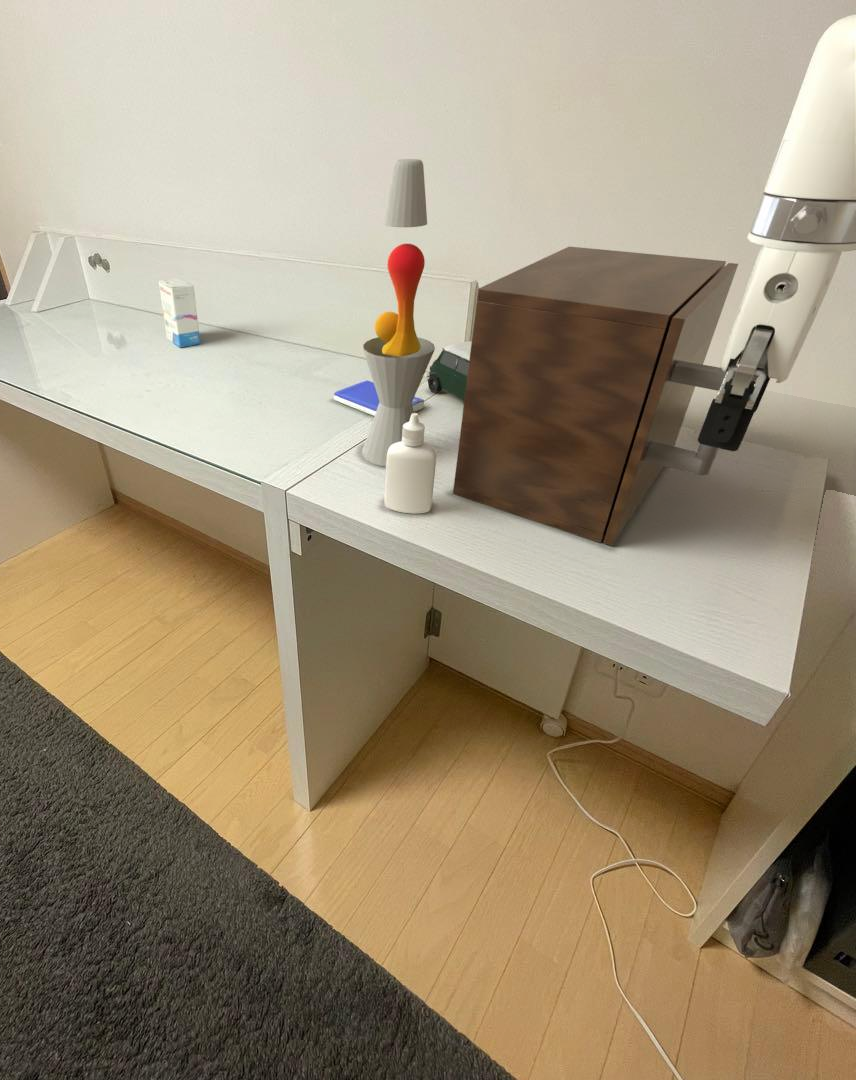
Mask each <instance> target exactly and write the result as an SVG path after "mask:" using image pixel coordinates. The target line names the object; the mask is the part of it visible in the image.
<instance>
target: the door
mask: <svg viewBox="0 0 856 1080" xmlns="http://www.w3.org/2000/svg"><path fill="white" fill-rule="evenodd" d="M738 267H739V263H733V262H728V263H726V264H725V267H724V268H723V269H722V270H721V271H720V272H719V273H718V274H717V275H716V276H715V277H714V278H713V279H712V280H711V281H710V282H709V283H708V284H707V285H706V286H704V287H703V288H702V289H701V290H700V291H699V292H698V293H697V294H696V295H695V296H694V297H693V298H692V299H691V300H690V301H689V302H688V303H687V304H686V305H685V306H684V307H683V308H682V309H681V310H680V311H679V312H678V313H677V314H676V315H675V316H674V317H673V318H672V321H671V324H670V327H669V331H668V334H667V337H666V340H665V344H664V347H663V350H662V353H661V357H660V360H659V363H658V366H657V370H656V373H655V376H654V379H653V383H652V386H651V389H650V392H649V396H648V399H647V402H646V405H645V409H644V412H643V415H642V418H641V422H640V425H639V428H638V431H637V435H636V438H635V441H634V444H633V448H632V451H631V454H630V457H629V461H628V464H627V467H626V470H625V474H624V477H623V480H622V483H621V487H620V490H619V493H618V496H617V500H616V503H615V506H614V509H613V513H612V516H611V519H610V522H609V526H608V529H607V532H606V535H605V537H604V538H603V541H602V543H603V544H605V545H608V546H611V547H612V546H614V544H615V543H616V541H617V540H618V538H619V537H620V535H621V533H623V531H624V530H625V527H626V526H627V524H628V523H629V521H630V519H631V518H632V516H633V515H634V514H635V512H636V510H637V509H638V508H639V506H640V504H641V502H642V501H643V499H644V498H645V496H646V495H647V493H648V492H649V490H650V489H651V487H652V485H653V484H654V482H655V481H656V479H657V478H658V476H659V475H660V473H661V472H662V470H663V468H664V467H666V468H668V469H669V468H670V469H674V470H677V471H682V472H685V473H689V474H693V475H696V476H707V475H708V474H709V473H710V470H711V468H712V466H713V463H714V460H715V458H716V456H717V454H718V450H719V448H716V447H712V446H708V445H703V444H700V443H699V445H698V448H697V449H696V451H694V450H689V449H686V448H681V447H677V446H675V445H676V443H677V440H678V437H679V434H680V432H681V429H682V425H683V423H684V420H685V418H686V415H687V411H688V409H689V406H690V403H691V400H692V397H693V394H694V392H695V389H696V387H697V388H701V389H706V390H707V389H708V390H711V391H718V392H719V390H720V387H721V385H722V383H723V380H724V378H725V376H726V373H724V372H723V370H722V369H721V367H718V366H713V365H707V364H704V363H705V361H706V357H707V355H708V352H709V349H710V346H711V343H712V340H713V337H714V334H715V332H716V330H717V327H718V323H719V320H720V318H721V314H722V312H723V310H724V306H725V303H726V300H727V297H728V295H729V292H730V289H731V286H732V284H733V281H734V278H735V276H736V275H735V274H736V272H737V269H738Z"/></svg>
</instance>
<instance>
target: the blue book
mask: <svg viewBox="0 0 856 1080" xmlns="http://www.w3.org/2000/svg"><path fill="white" fill-rule="evenodd" d="M333 400H334V401H335V402H338V403H341V404H343V405H346V406H347V407H351V408H353V409H356V410H358V411H361V412H363V413H366V414H368V415H371V416H375V413H376V411H377V408H378V405H379V402H380V401H379V398H378V395H377V392H376V388H375V385H374V382H373V381H370V380H364V381H360V382H359V383H355V384H352V385H350V386H348V387H345V388H342V389H340V390H336V391H335V392H334V393H333ZM412 406H413V410H414V413H416V412H418V411H421V410H422V409H423V408H424V406H425V400H424V399H422V398H420V397H416V396H414V399H413V401H412Z"/></svg>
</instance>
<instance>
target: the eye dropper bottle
mask: <svg viewBox="0 0 856 1080" xmlns="http://www.w3.org/2000/svg"><path fill="white" fill-rule="evenodd" d="M425 429H426V426H425V425H424V423H422V422H420V420H419V414H418V413H416V412H414V413H412V414H411V418H410V421H409V422H407V423H405V424H404V425H403V432H402V441H401V442H397V443H394V444H392V445H391V446H390V447H389V449H388V452H387V461H386V467H385V479H384V480H385V481H384V482H385V483H384V500H383V501H384V506H385V508H387V509H389V510H391V511H394V512H398V513H403V514H414V515H415V514H416V515H417V514H426V513H429V512H430V511H431V508H432V505H433V496H434V488H435V487H434V486H435V475H436V466H437V451H436V449H435V448H434V447H433V446H432V445H429V444H428V443H425V441H424V440H425Z"/></svg>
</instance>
